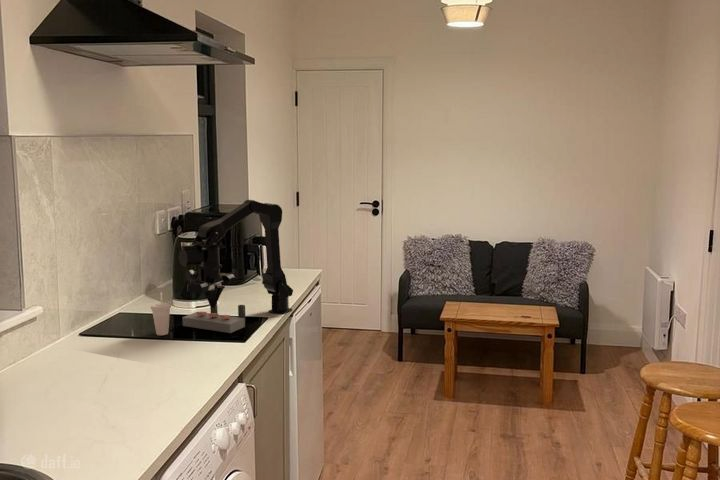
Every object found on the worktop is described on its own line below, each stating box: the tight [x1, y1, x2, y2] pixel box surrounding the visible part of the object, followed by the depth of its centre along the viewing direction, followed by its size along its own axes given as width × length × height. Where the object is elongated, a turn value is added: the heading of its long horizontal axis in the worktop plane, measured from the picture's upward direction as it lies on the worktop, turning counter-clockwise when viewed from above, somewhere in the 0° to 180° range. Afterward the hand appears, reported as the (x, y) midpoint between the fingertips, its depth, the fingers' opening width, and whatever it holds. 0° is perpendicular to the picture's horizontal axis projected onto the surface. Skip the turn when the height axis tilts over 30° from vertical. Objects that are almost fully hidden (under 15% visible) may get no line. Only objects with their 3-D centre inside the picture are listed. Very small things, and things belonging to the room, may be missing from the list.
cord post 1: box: [209, 302, 219, 315], centre depth 251 cm, size 2×2×6 cm
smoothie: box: [150, 291, 172, 336], centre depth 233 cm, size 6×6×14 cm
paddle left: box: [196, 310, 208, 316], centre depth 243 cm, size 3×2×1 cm
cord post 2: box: [237, 304, 247, 324], centre depth 246 cm, size 2×2×6 cm
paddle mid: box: [208, 312, 219, 317], centre depth 241 cm, size 3×2×1 cm
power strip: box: [182, 311, 246, 334], centre depth 241 cm, size 8×20×3 cm, turn 63°
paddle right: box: [220, 314, 231, 319], centre depth 239 cm, size 3×2×1 cm
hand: (212, 307), depth 241 cm, fingers closed
